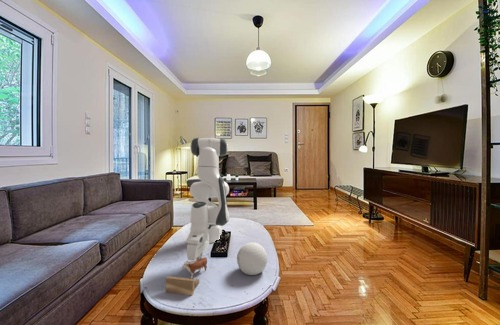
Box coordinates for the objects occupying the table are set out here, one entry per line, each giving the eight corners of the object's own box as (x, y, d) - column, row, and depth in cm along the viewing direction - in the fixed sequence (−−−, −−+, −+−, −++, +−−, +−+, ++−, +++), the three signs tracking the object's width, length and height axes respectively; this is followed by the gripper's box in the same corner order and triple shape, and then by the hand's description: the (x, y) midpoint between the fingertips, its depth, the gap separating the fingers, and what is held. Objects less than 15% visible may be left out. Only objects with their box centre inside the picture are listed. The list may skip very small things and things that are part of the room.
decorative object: (243, 264, 127) (244, 236, 127) (270, 269, 122) (271, 240, 121) (231, 277, 113) (231, 246, 113) (261, 283, 108) (261, 250, 107)
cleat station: (176, 280, 109) (176, 268, 109) (201, 283, 107) (201, 270, 107) (165, 292, 100) (165, 278, 100) (192, 295, 98) (192, 280, 98)
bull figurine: (179, 277, 112) (180, 260, 111) (204, 268, 121) (205, 253, 121) (184, 281, 109) (185, 264, 108) (209, 272, 118) (210, 256, 117)
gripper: (201, 228, 131) (201, 253, 131) (184, 241, 111) (184, 270, 111) (212, 229, 130) (211, 254, 130) (197, 241, 110) (197, 271, 110)
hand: (199, 261), depth 120 cm, fingers closed
